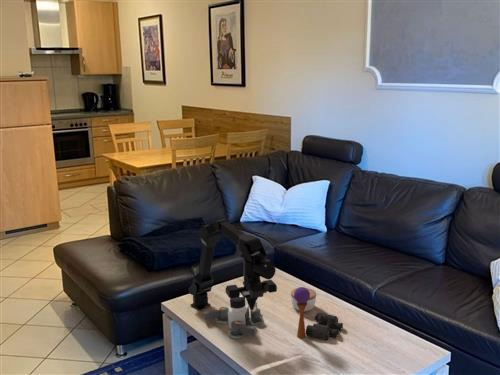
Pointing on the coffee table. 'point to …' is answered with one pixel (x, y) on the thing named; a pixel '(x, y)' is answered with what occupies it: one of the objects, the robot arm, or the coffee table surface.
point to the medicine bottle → (238, 311)
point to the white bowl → (309, 303)
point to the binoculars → (324, 326)
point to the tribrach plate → (241, 333)
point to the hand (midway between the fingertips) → (251, 309)
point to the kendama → (301, 308)
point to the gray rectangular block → (242, 328)
